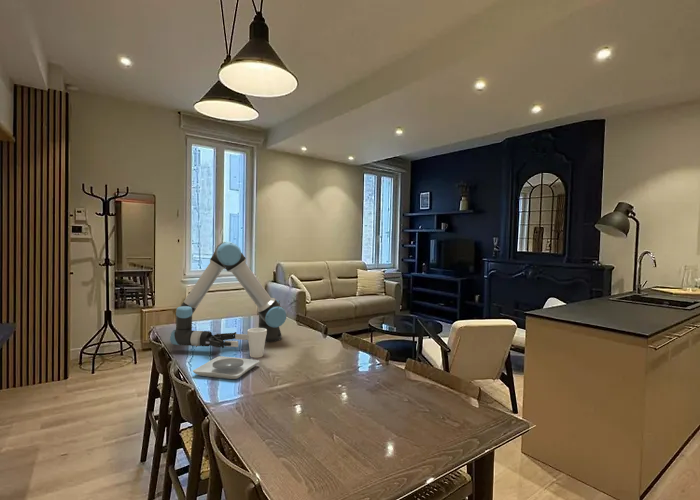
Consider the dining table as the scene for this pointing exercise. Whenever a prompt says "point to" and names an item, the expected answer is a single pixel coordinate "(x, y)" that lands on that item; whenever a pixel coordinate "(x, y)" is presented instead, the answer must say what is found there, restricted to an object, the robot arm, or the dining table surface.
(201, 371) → the salad plate
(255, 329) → the foam cup
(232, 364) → the slate coaster
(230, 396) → the dining table surface
